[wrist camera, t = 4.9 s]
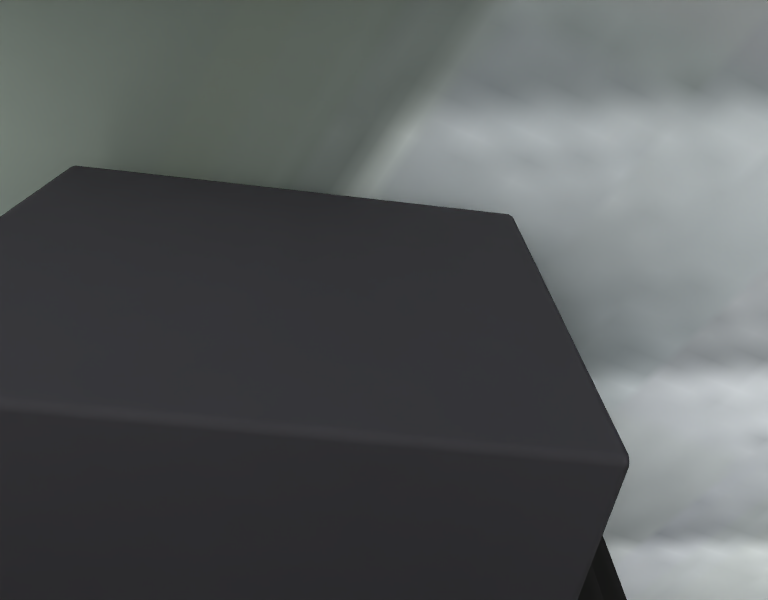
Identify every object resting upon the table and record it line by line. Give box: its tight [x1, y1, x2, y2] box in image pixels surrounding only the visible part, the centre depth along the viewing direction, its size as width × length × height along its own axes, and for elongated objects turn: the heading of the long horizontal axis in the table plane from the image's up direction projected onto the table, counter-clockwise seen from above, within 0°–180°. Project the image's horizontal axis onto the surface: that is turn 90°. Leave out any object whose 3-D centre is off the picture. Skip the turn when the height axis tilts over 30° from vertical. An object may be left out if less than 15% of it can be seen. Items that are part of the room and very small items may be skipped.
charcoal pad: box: [0, 166, 629, 600], centre depth 9 cm, size 6×8×5 cm
